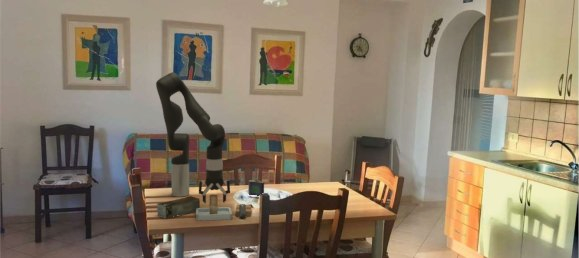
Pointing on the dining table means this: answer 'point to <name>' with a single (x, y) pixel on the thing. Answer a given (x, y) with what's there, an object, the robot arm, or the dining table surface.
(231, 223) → the dining table surface
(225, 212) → the tray
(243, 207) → the stop post
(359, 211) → the dining table surface
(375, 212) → the dining table surface
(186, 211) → the beverage carton
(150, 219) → the dining table surface
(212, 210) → the tan cylinder
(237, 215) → the tan flat block
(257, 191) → the flask
